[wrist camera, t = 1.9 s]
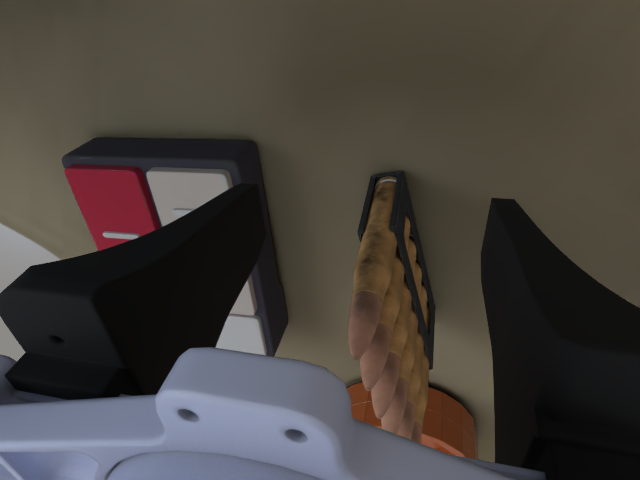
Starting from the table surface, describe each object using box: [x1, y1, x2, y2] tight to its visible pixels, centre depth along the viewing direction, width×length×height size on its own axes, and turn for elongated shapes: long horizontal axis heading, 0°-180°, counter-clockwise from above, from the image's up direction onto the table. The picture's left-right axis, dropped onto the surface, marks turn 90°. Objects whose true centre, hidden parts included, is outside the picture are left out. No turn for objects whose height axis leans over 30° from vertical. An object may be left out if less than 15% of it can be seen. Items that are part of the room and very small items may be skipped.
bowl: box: [347, 382, 478, 460], centre depth 36 cm, size 12×12×4 cm
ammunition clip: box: [348, 171, 435, 443], centre depth 22 cm, size 11×2×12 cm, turn 18°
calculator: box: [62, 138, 288, 357], centre depth 29 cm, size 11×4×15 cm
